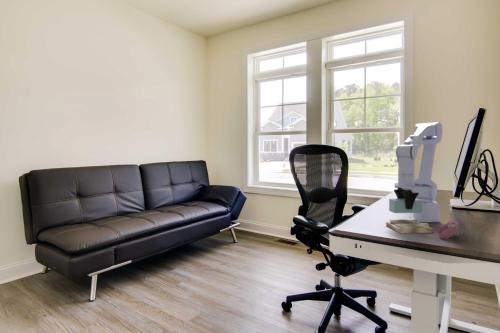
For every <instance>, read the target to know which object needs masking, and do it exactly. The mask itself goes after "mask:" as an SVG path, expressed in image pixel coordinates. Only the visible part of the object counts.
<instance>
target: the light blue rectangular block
mask: <svg viewBox="0 0 500 333" xmlns="http://www.w3.org/2000/svg"><path fill="white" fill-rule="evenodd" d="M388 203H389V204H388V206H389V207H388V211H389V212H391V213H393V214H407V213H408V214H413V213H422V200H420V199H417V198H416V199H415V201H414V204H413V208H412V209H406V207H405V199H397V198H389V199H388Z"/></svg>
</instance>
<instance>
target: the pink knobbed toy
mask: <svg viewBox="0 0 500 333" xmlns="http://www.w3.org/2000/svg"><path fill="white" fill-rule="evenodd" d="M458 225H459V224H458V222H457V221H454V220H449V221H447V223H445V224H443V225H442V226H440V227H439V228H438V233H439V234H438V238H439V239H441V240H444V239H451V238H452V237H453V236H454V235H458V234H459V230H458V229H459V227H458Z"/></svg>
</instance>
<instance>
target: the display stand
mask: <svg viewBox="0 0 500 333" xmlns="http://www.w3.org/2000/svg"><path fill="white" fill-rule="evenodd" d="M385 223H386V224H385V226H386V227H388V229H391V230H393V231H395V232H397V233H399V234H424V233H425V234H427V233H429V234H430V233H434V228H433V227H430V226H429V225H430V224H429V222H418V219H410V218H403V219H402V218H398V219H397V218H396V219H395V218H393V219H392V218H390V219H389V221H386V222H385Z"/></svg>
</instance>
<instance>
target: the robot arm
mask: <svg viewBox="0 0 500 333" xmlns="http://www.w3.org/2000/svg"><path fill="white" fill-rule="evenodd" d="M413 130H414V133H413V134H410V135H409V136H408V138H407V139H406V140H405V141H404V142H403V144H400V145H397V147H396V149H395V157H396V162H397V164H398V165H397V166H398V168H397V169H398V170H397V171H398V173H397V178H398V179H397V182H396V183H394V189H393V192H394V194H395V196H396V199H405V207H406V209H412V208H413V204H414V201H415V199H416V198H417V199H420V200H422V213H412V214H413V215H412V216H411V217H408V219H418V222H419V223H441V220H440V205H439V203H438V202H437V201H436V200H437V197H438V186H437V183H436V182H435V181H433V180H432V176H433V175H432V174H433V168H434V167H433V166H434V161H435V153H436V149H437V145H438V144H440V143H441V140H442V137H443V124H442V123H441V122H440V121H437V122H436V121H435V122H422V123H421V122H420V123H419V122H418V123H416V124H415V126H414V129H413ZM422 145H423V146H422ZM421 146H422V153H421V159H420V160H421V161H420V164H419V165H420V166H419V171H418V178H415V159H417V157H418V153H419V149H420V147H421Z"/></svg>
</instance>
